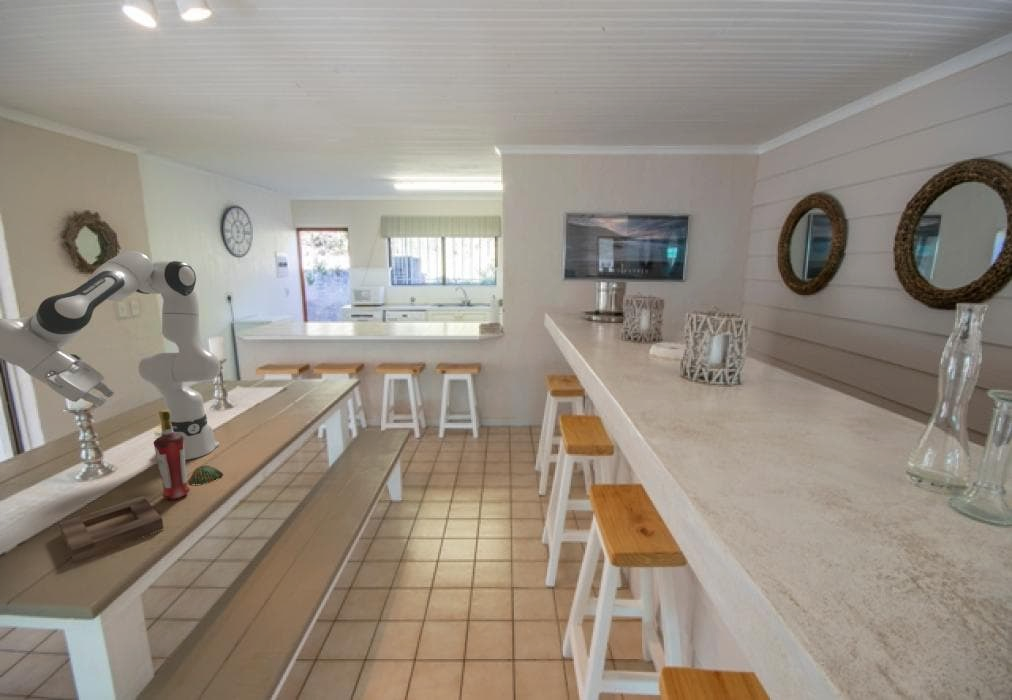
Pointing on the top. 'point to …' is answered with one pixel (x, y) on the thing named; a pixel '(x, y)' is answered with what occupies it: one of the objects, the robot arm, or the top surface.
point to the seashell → (204, 475)
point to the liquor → (171, 459)
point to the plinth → (109, 528)
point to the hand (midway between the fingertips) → (108, 399)
